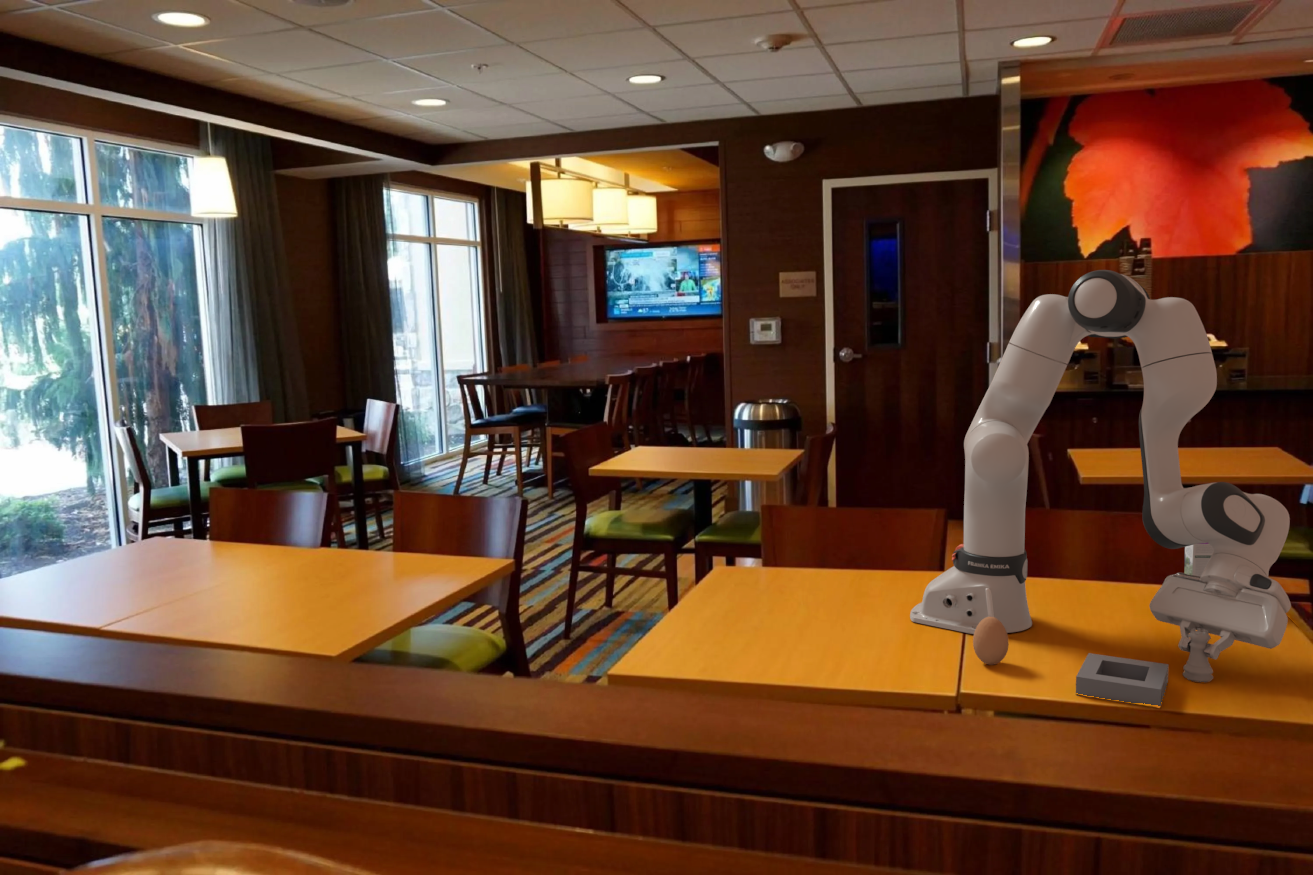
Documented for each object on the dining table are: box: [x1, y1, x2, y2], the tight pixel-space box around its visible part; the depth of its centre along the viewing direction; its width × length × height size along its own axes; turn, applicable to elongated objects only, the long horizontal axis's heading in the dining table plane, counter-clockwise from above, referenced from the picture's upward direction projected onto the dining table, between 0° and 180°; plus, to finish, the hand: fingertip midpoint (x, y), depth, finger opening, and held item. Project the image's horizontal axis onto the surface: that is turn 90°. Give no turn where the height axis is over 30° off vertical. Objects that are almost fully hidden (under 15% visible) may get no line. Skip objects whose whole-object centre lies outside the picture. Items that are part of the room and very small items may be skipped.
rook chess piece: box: [1182, 628, 1214, 683], centre depth 168 cm, size 4×4×8 cm
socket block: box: [1075, 652, 1169, 707], centre depth 165 cm, size 12×12×3 cm
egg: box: [972, 617, 1009, 666], centre depth 177 cm, size 6×6×8 cm
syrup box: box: [1183, 543, 1214, 577], centre depth 205 cm, size 6×6×14 cm
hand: (1196, 652), depth 167 cm, fingers closed on rook chess piece, 3 cm apart
